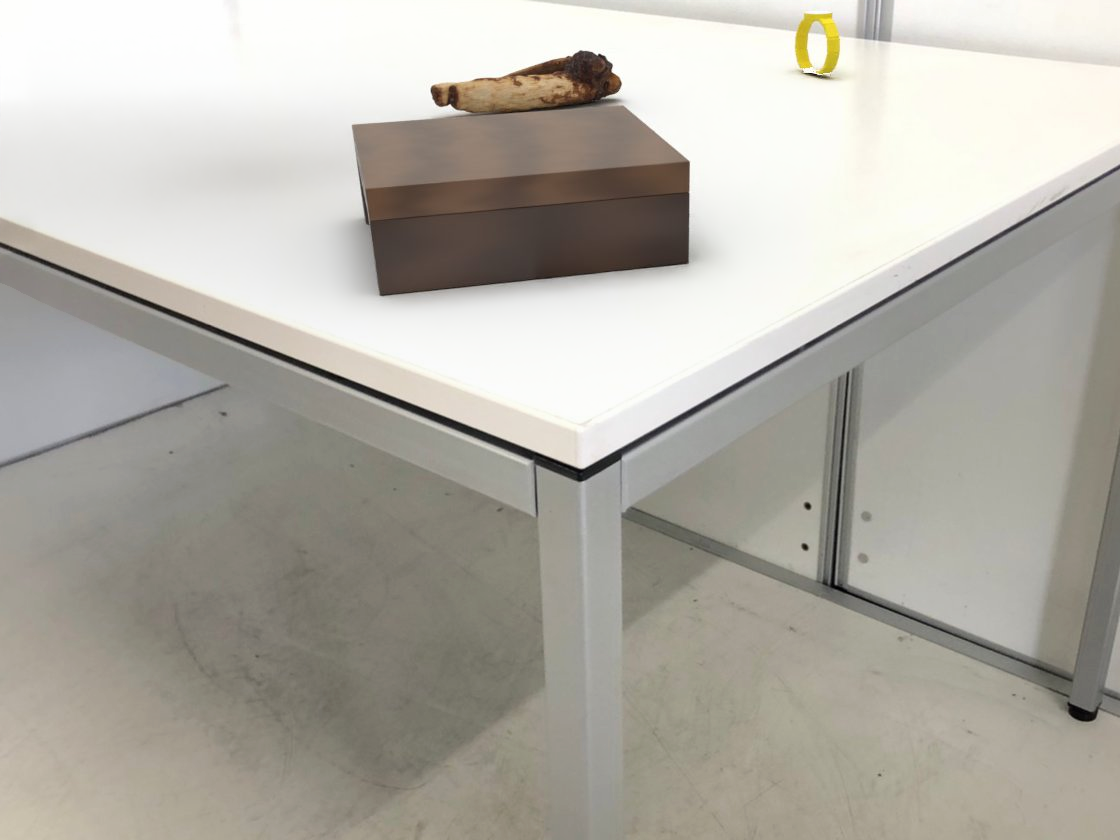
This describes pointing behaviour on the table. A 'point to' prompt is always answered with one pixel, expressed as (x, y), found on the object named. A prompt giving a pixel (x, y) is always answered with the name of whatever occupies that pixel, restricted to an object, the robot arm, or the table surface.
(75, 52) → the table surface
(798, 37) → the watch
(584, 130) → the wooden keepsake box
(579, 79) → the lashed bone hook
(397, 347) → the table surface
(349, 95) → the table surface
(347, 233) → the table surface
